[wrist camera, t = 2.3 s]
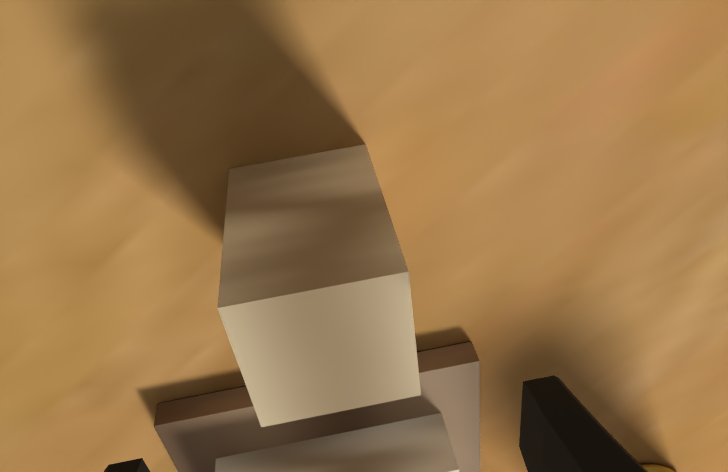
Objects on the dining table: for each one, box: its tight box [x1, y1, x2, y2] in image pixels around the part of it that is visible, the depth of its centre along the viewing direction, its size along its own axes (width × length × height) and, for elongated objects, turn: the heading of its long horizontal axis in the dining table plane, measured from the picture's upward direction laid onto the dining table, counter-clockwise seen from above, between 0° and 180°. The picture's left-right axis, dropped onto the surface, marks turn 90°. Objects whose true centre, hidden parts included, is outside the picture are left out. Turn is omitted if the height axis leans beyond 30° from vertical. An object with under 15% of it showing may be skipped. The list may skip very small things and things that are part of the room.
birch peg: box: [218, 144, 421, 427], centre depth 16 cm, size 4×4×6 cm
